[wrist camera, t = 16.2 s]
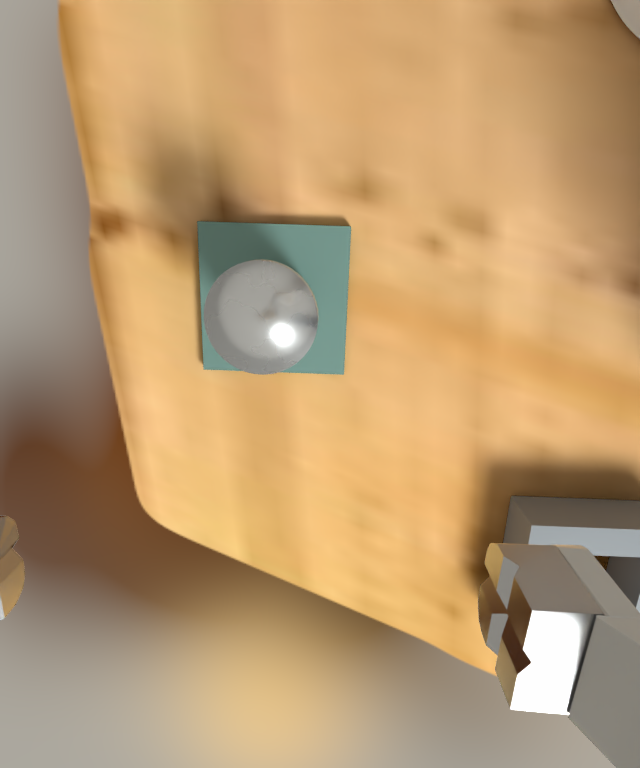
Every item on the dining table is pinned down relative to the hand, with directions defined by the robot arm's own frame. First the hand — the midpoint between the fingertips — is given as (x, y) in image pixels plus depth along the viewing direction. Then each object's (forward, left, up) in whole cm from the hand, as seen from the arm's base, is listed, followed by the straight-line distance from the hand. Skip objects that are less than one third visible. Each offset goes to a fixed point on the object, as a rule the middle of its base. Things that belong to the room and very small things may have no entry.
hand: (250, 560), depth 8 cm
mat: (-1, -3, -26) cm, 26 cm away
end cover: (-1, -2, -26) cm, 26 cm away
